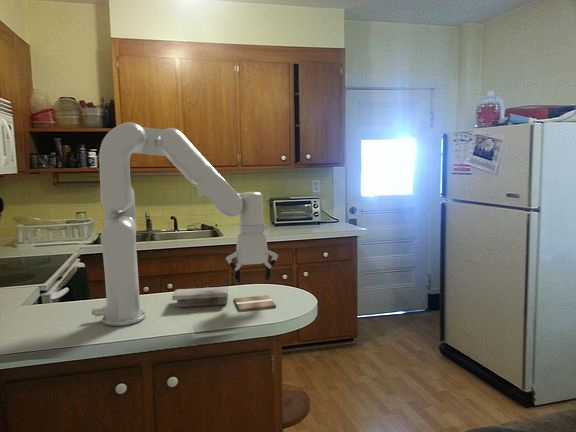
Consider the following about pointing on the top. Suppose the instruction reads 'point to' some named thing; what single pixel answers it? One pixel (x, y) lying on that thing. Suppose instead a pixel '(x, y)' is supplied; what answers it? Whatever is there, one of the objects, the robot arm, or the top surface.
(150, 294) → the top surface
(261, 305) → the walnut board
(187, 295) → the packaged product
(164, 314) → the top surface
